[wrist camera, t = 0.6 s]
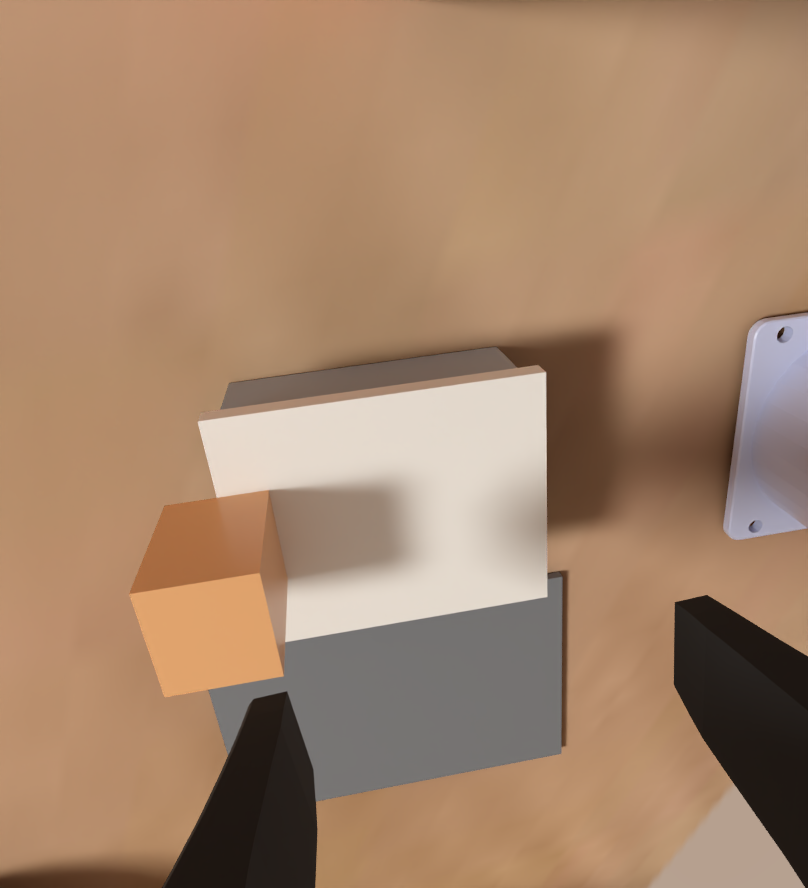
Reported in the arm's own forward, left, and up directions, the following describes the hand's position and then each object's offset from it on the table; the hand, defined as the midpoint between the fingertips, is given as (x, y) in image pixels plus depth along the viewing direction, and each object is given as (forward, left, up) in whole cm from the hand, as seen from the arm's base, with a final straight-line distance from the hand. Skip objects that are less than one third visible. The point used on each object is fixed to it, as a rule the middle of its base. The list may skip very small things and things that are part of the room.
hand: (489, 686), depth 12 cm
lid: (+1, 0, -7) cm, 7 cm away
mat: (+2, +10, -10) cm, 14 cm away
